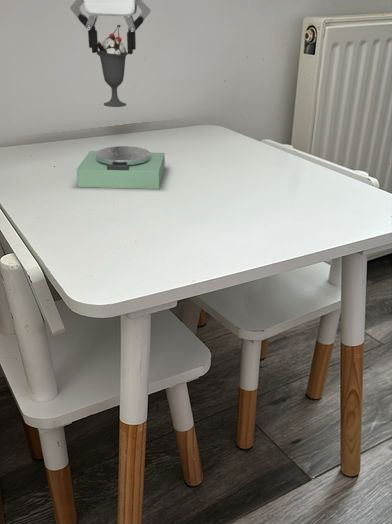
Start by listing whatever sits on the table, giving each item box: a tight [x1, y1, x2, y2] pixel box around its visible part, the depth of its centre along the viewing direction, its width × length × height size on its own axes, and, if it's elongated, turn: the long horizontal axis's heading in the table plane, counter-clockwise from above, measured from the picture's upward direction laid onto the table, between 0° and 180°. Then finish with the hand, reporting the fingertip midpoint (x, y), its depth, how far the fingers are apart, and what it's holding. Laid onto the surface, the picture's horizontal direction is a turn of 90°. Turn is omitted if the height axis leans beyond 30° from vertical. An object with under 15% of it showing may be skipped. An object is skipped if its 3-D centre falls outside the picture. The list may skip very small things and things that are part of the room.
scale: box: [76, 150, 166, 190], centre depth 100 cm, size 14×12×4 cm
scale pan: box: [96, 145, 150, 165], centre depth 99 cm, size 10×10×1 cm
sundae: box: [95, 24, 129, 108], centre depth 116 cm, size 7×7×15 cm
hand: (112, 52), depth 115 cm, fingers closed on sundae, 6 cm apart
